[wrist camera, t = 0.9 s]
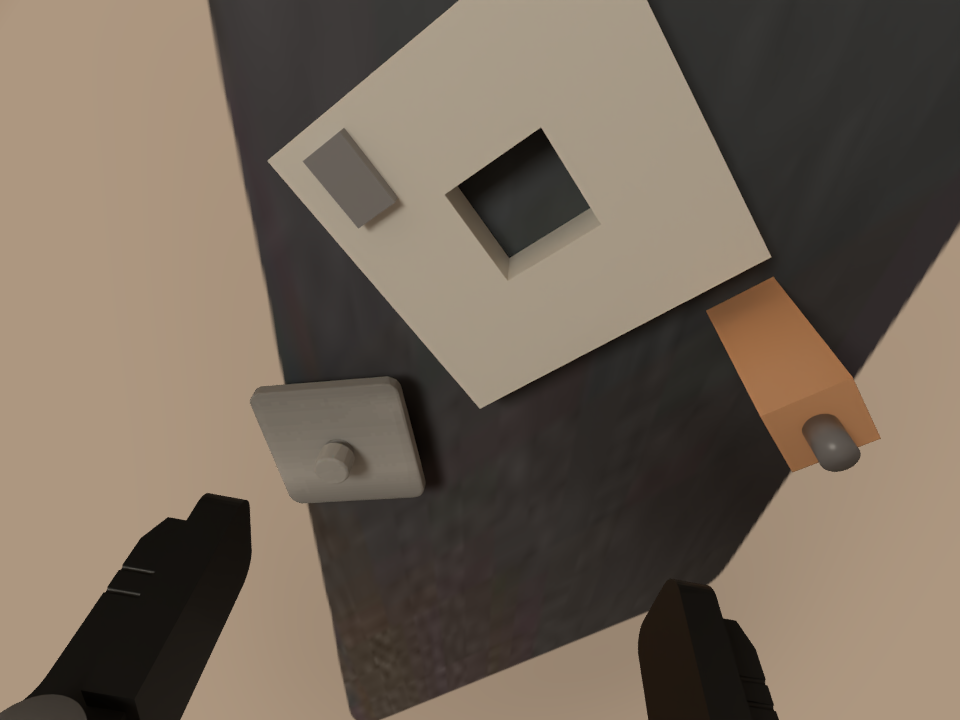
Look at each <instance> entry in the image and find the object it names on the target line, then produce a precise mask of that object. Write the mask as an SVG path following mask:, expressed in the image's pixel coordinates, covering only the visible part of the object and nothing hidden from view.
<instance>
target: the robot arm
mask: <svg viewBox="0 0 960 720" xmlns="http://www.w3.org/2000/svg"><path fill="white" fill-rule="evenodd" d="M251 553H252V549H251V527H250V507H249V502H248V501H247V500H243V499H237V498H232V497H226V496H221V495H215V494H210V493H206V494H205V495H203V496H202V497H201V499H200V500H199V501H198V503H197V504H196V506H195V508H194V509H193V511H192V512H191V514H190V516H189V517H188V519H187V520H180V519H175V518H169V517H168V518H166V519H165V520H164V521H163V522H161V523H160V524H159V525H157V526H156V527H155V528H153V529H152V530H151V531H150V532H148V533H147V534H146V535H144V536H143V537H142V538H141V539H140V540H139V542H138V543H137V545H136V546H135V547H134V549H133V550H132V552H131V553H130V555H129V556H128V558H127V559H126V561H125V562H124V563H123V567H122V569H121V570H119V571H118V572H117V574H116V575H115V577H114V578H113V580H112V581H111V583H110V584H109V586H108V589H107V591H106V592H105V593H103V594H102V596H101V597H100V599H99V600H98V601H97V603H96V604H95V606H94V607H93V609H92V610H91V612H90V613H89V615H88V616H87V618H86V619H85V621H84V622H83V623H82V625H81V626H80V628H79V629H78V631H77V632H76V634H75V635H74V636H73V638H72V639H71V641H70V643H69V644H68V645H67V647H66V648H65V650H64V651H63V653H62V654H61V656H60V657H59V658H58V660H57V661H56V663H55V664H54V666H53V667H52V669H51V670H50V672H49V673H48V674H47V676H46V677H45V679H44V680H43V681H42V682H41V684H40V685H39V686H38V687H37V688H36V689H35V690H34V691H33V692H32V693H31V694H30V695H29V696H28V697H27V698H25V699H24V700H23V701H21V702H19V703H16V704H14V705H12V706H11V707H9V708H7V709H6V710H4V711H2V712H1V713H0V720H180V719H181V717H182V715H183V713H184V710H185V709H186V706H187V704H188V702H189V700H190V698H191V696H192V693H193V691H194V689H195V687H196V685H197V683H198V681H199V678H200V676H201V674H202V672H203V670H204V668H205V665H206V664H207V661H208V659H209V657H210V655H211V653H212V651H213V648H214V646H215V644H216V642H217V640H218V638H219V636H220V634H221V631H222V629H223V627H224V625H225V623H226V621H227V619H228V616H229V614H230V612H231V610H232V608H233V606H234V604H235V601H236V599H237V597H238V595H239V593H240V590H241V588H242V586H243V584H244V582H245V579H246V576H247V573H248V570H249V565H250V561H251ZM638 655H639V662H640V668H641V675H642V681H643V688H644V694H645V701H646V707H647V714H648V720H779V719H778V716H777V713H776V711H774V710H773V705H774V704H773V701H772V698H771V695H770V692H769V689H768V686H766V685H765V676H764V673H763V670H762V667H761V664H760V661H759V658H758V655H757V652H756V649H755V648H754V646H753V645H752V643H751V642H750V640H749V639H748V637H747V636H746V634H745V633H744V632H743V630H742V629H741V627H740V626H739V624H738V623H737V622H736V621H734V620H729V619H723V617H722V614H721V611H720V607H719V604H718V600H717V597H716V594H715V592H714V591H713V589H712V588H711V587H710V586H708V585H703V584H697V583H692V582H686V581H681V580H675V579H669V580H667V581H666V583H665V584H664V586H663V588H662V589H661V591H660V593H659V594H658V596H657V598H656V600H655V601H654V603H653V605H652V607H651V608H650V610H649V612H648V614H647V615H646V617H645V619H644V621H643V623H642V625H641V628H640V634H639V640H638Z"/></svg>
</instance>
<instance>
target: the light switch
mask: <svg viewBox="0 0 960 720" xmlns="http://www.w3.org/2000/svg"><path fill="white" fill-rule="evenodd" d="M250 404H251V406H252V409H253V411H254V413H255V416H256V418H257V421H258V423H259V425H260V428H261V430H262V432H263V435H264V437H265V440H266V441H267V444H268V447H269V449H270V451H271V454H272V456H273V458H274V460H275V463H276V465H277V468H278V470H279V472H280V475H281V477H282V479H283V481H284V484H285V486H286V489H287V491H288V493H289V495H290V497H291V498H292V499H293V500H295V501H296V502H299V503H317V502H336V501H354V500H373V499H392V498H410V497H417V496H420V495H421V494H422V493H423V491H424V488H425V484H426V481H425V477H424V473H423V470H422V465H421V461H420V457H419V453H418V450H417V446H416V442H415V438H414V434H413V430H412V426H411V422H410V418H409V415H408V411H407V407H406V403H405V399H404V395H403V391H402V387H401V384H400V383H399V382H398V381H397V380H396V379H394V378H391V377H389V376H386V377H374V378H361V379H349V380H337V381H324V382H312V383H299V384H287V385H276V386H263V387H259V388H257V389H256V390H255V392H254V394H253V396H252V397H251V399H250Z"/></svg>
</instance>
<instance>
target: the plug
mask: <svg viewBox="0 0 960 720" xmlns="http://www.w3.org/2000/svg"><path fill="white" fill-rule="evenodd" d="M706 312H707V314H708V316H709V318H710V320H711V321H712V323H713V325H714V327H715V329H716V331H717V333H718V335H719V337H720V339H721V341H722V343H723V345H724V347H725V349H726V351H727V353H728V355H729V357H730V358H731V360H732V362H733V364H734V366H735V368H736V370H737V372H738V374H739V376H740V378H741V380H742V382H743V384H744V386H745V388H746V390H747V392H748V394H749V395H750V397H751V399H752V401H753V403H754V405H755V407H756V409H757V411H758V413H759V415H760V417H761V419H762V420H763V422H764V424H765V426H766V427H767V429H768V431H769V432H770V434H771V436H772V438H773V439H774V441H775V443H776V445H777V446H778V448H779V450H780V452H781V453H782V455H783V457H784V459H785V460H786V462H787V464H788V465H789V467H790V469H791V471H792V472H795V471H797V470H800V469H803V468H805V467H808V466H810V465H813V464H815V463H818V462H819V463H820V465H821V466H822V467H823V468H824V469H825V470H828V471H833V472H838V471H843V470H846V469H849V468H851V467H852V466H854V465H855V464H856V463H857V462H858V460H859V458H860V450H859V449H858V447H860V446H863V445H865V444H868V443H870V442H873V441H876V440H878V439H881V438H880V435H879V434H878V431H877V429H876V427H875V425H874V423H873V420H872V418H871V416H870V414H869V412H868V410H867V407H866V405H865V403H864V401H863V399H862V397H861V394H860V392H859V390H858V388H857V386H856V384H855V382H854V379H853V377H852V376H851V375H850V373H849V372H848V371H847V370H846V368H845V367H844V366H843V365H842V363H841V362H840V361H839V359H838V358H837V357H836V356H835V354H834V353H833V352H832V351H831V349H830V348H829V347H828V345H827V344H826V343H825V342H824V340H823V339H822V338H821V337H820V335H819V334H818V333H817V332H816V330H815V329H814V328H813V326H812V325H811V324H810V323H809V321H808V320H807V319H806V318H805V316H804V315H803V314H802V313H801V311H800V310H799V309H798V307H797V306H796V305H795V304H794V302H793V301H792V300H791V299H790V297H789V296H788V295H787V293H786V292H785V291H784V290H783V288H782V287H781V286H780V285H779V283H778V282H777V281H776V280H775V278H774V277H772V278H770V279H768V280H766V281H764V282H762V283H760V284H758V285H756V286H754V287H752V288H750V289H748V290H746V291H744V292H742V293H740V294H738V295H736V296H734V297H732V298H730V299H728V300H726V301H724V302H722V303H720V304H719V305H717V306H715V307H713V308H711V309H709V310H707V311H706Z"/></svg>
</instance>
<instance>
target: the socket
mask: <svg viewBox="0 0 960 720" xmlns="http://www.w3.org/2000/svg"><path fill="white" fill-rule="evenodd" d="M539 128H542V130H543V131H544V133H545V135H546V136H547V138H548V139H549V141H550V143H551V144H552V146H553V148H554V149H555V151H556V152H557V154H558V156H559V157H560V159H561V160H562V162H563V164H564V165H565V167H566V169H567V170H568V172H569V173H570V175H571V177H572V178H573V180H574V182H575V183H576V185H577V186H578V188H579V190H580V191H581V193H582V194H583V196H584V198H585V199H586V201H587V203H588V204H589V206H590V207H591V208H590V209H588V210H586V211H585V212H583V213H581V214H580V215H578V216H577V217H575V218H573V219H572V220H570V221H569V222H567V223H565V224H564V225H562V226H560V227H559V228H557V229H556V230H554V231H552V232H551V233H549V234H548V235H546V236H544V237H543V238H541V239H539V240H538V241H536V242H535V243H533V244H531V245H530V246H528V247H527V248H525V249H523V250H522V251H520V252H518V253H517V254H515V255H514V256H512V257H510V258H509V257H508V256H507V254H506V253H505V252H504V250H503V249H502V247H501V246H500V245H499V243H498V242H497V240H496V239H495V238H494V236H493V235H492V233H491V232H490V231H489V229H488V228H487V226H486V225H485V224H484V222H483V221H482V219H481V218H480V217H479V215H478V214H477V212H476V211H475V210H474V208H473V207H472V206H471V204H470V203H469V201H468V200H467V199H466V197H465V196H464V194H463V193H462V192H461V190H460V189H459V187H458V185H459V184H460V183H462V182H463V181H465V180H466V179H468V178H469V177H470V176H472V175H473V174H475V173H476V172H478V171H479V170H480V169H482V168H483V167H485V166H486V165H488V164H489V163H490V162H492V161H493V160H495V159H496V158H498V157H499V156H501V155H502V154H503V153H505V152H506V151H508V150H509V149H511V148H512V147H513V146H515V145H516V144H518V143H519V142H521V141H522V140H523V139H525V138H526V137H528V136H529V135H531V134H532V133H533V132H535V131H536V130H538V129H539ZM268 162H269V163H270V165H271V166H272V167H273V168H274V169H275V170H276V172H277V173H278V174H279V175H280V176H281V177H282V179H283V180H284V181H285V182H286V183H287V184H288V185H289V187H290V188H291V189H292V190H293V191H294V192H295V194H296V195H297V196H298V197H299V198H300V199H301V201H302V202H303V203H304V204H305V205H306V206H307V208H308V209H309V210H310V211H311V212H312V213H313V215H314V216H315V217H316V218H317V219H318V220H319V222H320V223H321V224H322V225H323V226H324V227H325V229H326V230H327V231H328V232H329V233H330V234H331V236H332V237H333V238H334V239H335V240H336V241H337V243H338V244H339V245H340V246H341V247H342V248H343V250H344V251H345V252H346V253H347V254H348V255H349V257H350V258H351V259H352V260H353V261H354V262H355V264H356V265H357V266H358V267H359V268H360V269H361V271H362V272H363V273H364V274H365V275H366V276H367V278H368V279H369V280H370V281H371V282H372V283H373V285H374V286H375V287H376V288H377V289H378V290H379V292H380V293H381V294H382V295H383V296H384V297H385V299H386V300H387V301H388V302H389V303H390V304H391V306H392V307H393V308H394V309H395V310H396V311H397V313H398V314H399V315H400V316H401V317H402V318H403V320H404V321H405V322H406V323H407V324H408V325H409V327H410V328H411V329H412V330H413V331H414V332H415V334H416V335H417V336H418V337H419V338H420V339H421V341H422V342H423V343H424V344H425V345H426V346H427V348H428V349H429V350H430V351H431V352H432V353H433V354H434V356H435V357H436V358H437V359H438V360H439V361H440V363H441V364H442V365H443V366H444V367H445V368H446V370H447V371H448V372H449V373H450V374H451V375H452V377H453V378H454V379H455V380H456V381H457V382H458V384H459V385H460V386H461V387H462V388H463V389H464V391H465V392H466V393H467V394H468V395H469V396H470V398H471V399H472V400H473V401H474V402H475V403H476V405H477V406H478V407H479V408H482V407H484V406H486V405H488V404H490V403H492V402H494V401H496V400H498V399H499V398H501V397H503V396H505V395H507V394H509V393H511V392H513V391H515V390H517V389H519V388H521V387H523V386H524V385H526V384H528V383H530V382H532V381H534V380H536V379H538V378H540V377H542V376H544V375H546V374H547V373H549V372H551V371H553V370H555V369H557V368H559V367H561V366H563V365H565V364H567V363H569V362H571V361H572V360H574V359H576V358H578V357H580V356H582V355H584V354H586V353H588V352H590V351H592V350H594V349H596V348H597V347H599V346H601V345H603V344H605V343H607V342H609V341H611V340H613V339H615V338H617V337H619V336H621V335H622V334H624V333H626V332H628V331H630V330H632V329H634V328H636V327H638V326H640V325H642V324H644V323H646V322H647V321H649V320H651V319H653V318H655V317H657V316H659V315H661V314H663V313H665V312H667V311H669V310H671V309H672V308H674V307H676V306H678V305H680V304H682V303H684V302H686V301H688V300H690V299H692V298H694V297H696V296H697V295H699V294H701V293H703V292H705V291H707V290H709V289H711V288H713V287H715V286H717V285H719V284H721V283H722V282H724V281H726V280H728V279H730V278H732V277H734V276H736V275H738V274H740V273H742V272H744V271H746V270H747V269H749V268H751V267H753V266H755V265H757V264H759V263H761V262H763V261H765V260H767V259H769V258H771V255H770V253H769V251H768V249H767V247H766V245H765V243H764V241H763V239H762V237H761V235H760V233H759V231H758V229H757V227H756V224H755V222H754V220H753V218H752V216H751V214H750V212H749V210H748V208H747V206H746V204H745V202H744V200H743V198H742V196H741V193H740V191H739V189H738V187H737V185H736V183H735V181H734V179H733V177H732V175H731V173H730V171H729V169H728V167H727V165H726V163H725V160H724V158H723V156H722V154H721V152H720V150H719V148H718V146H717V144H716V142H715V140H714V138H713V136H712V134H711V132H710V130H709V127H708V125H707V123H706V121H705V119H704V117H703V115H702V113H701V111H700V109H699V107H698V105H697V103H696V101H695V99H694V97H693V94H692V92H691V90H690V88H689V86H688V84H687V82H686V80H685V78H684V76H683V74H682V72H681V70H680V68H679V66H678V63H677V61H676V59H675V57H674V55H673V53H672V51H671V49H670V47H669V45H668V43H667V41H666V39H665V37H664V35H663V33H662V30H661V28H660V26H659V24H658V22H657V20H656V18H655V16H654V14H653V12H652V10H651V8H650V6H649V4H648V2H647V0H459V1H458V2H457V3H455V4H454V5H453V6H452V7H451V8H450V9H448V10H447V11H446V12H445V13H444V14H442V15H441V16H440V17H439V18H438V19H436V20H435V21H434V22H433V23H432V24H430V25H429V26H428V27H427V28H426V29H424V30H423V31H422V32H421V33H420V34H418V35H417V36H416V37H415V38H414V39H412V40H411V41H410V42H409V43H408V44H406V45H405V46H404V47H403V48H402V49H401V50H399V51H398V52H397V53H396V54H395V55H393V56H392V57H391V58H390V59H389V60H387V61H386V62H385V63H384V64H383V65H381V66H380V67H379V68H378V69H377V70H375V71H374V72H373V73H372V74H371V75H369V76H368V77H367V78H366V79H365V80H363V81H362V82H361V83H360V84H359V85H357V86H356V87H355V88H354V89H353V90H352V91H350V92H349V93H348V94H347V95H346V96H344V97H343V98H342V99H341V100H340V101H338V102H337V103H336V104H335V105H334V106H332V107H331V108H330V109H329V110H328V111H326V112H325V113H324V114H323V115H322V116H320V117H319V118H318V119H317V120H316V121H314V122H313V123H312V124H311V125H310V126H308V127H307V128H306V129H305V130H304V131H303V132H301V133H300V134H299V135H298V136H297V137H295V138H294V139H293V140H292V141H291V142H289V143H288V144H287V145H286V146H285V147H283V148H282V149H281V150H280V151H279V152H277V153H276V154H275V155H274V156H273V157H271V158H270V159H269V160H268Z"/></svg>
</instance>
